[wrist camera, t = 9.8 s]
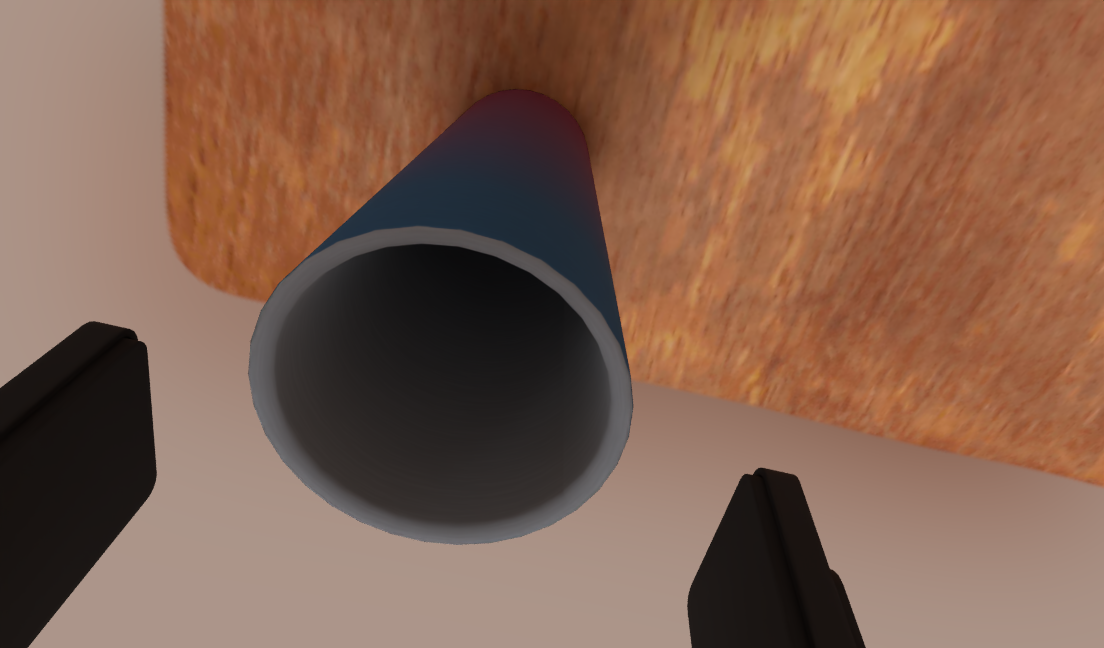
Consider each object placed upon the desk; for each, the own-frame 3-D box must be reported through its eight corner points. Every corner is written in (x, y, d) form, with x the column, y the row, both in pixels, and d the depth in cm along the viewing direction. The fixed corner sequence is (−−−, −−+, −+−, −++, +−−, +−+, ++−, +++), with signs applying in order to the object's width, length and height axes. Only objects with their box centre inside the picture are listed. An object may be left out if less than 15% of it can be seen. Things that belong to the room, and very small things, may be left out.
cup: (386, 162, 26) (176, 404, 13) (511, 15, 23) (404, 133, 10) (525, 281, 28) (464, 594, 15) (653, 159, 25) (716, 409, 12)
